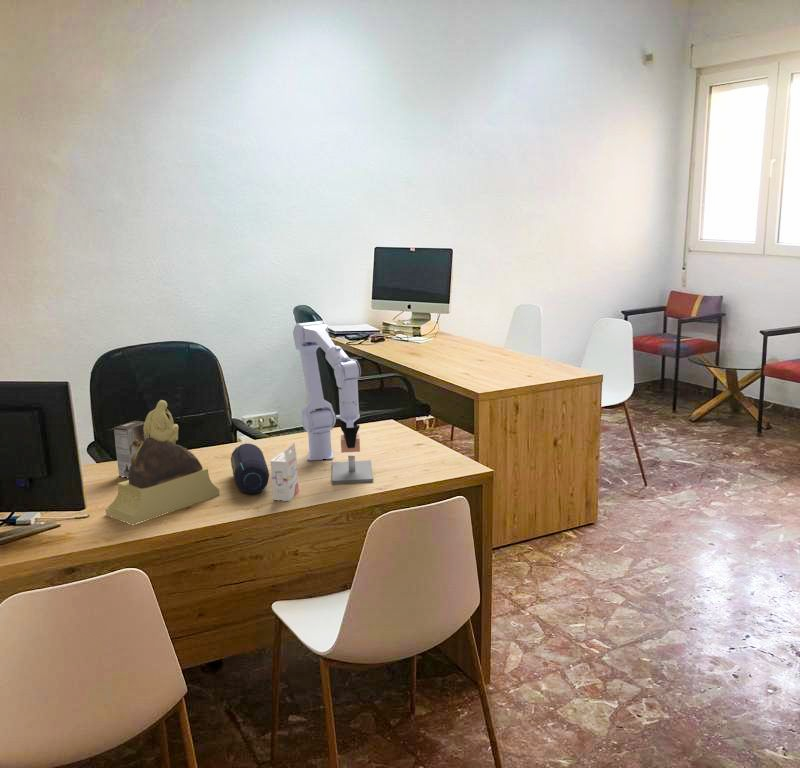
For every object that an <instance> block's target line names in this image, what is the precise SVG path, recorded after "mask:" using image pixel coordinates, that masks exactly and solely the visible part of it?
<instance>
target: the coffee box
mask: <svg viewBox="0 0 800 768" xmlns="http://www.w3.org/2000/svg"><path fill="white" fill-rule="evenodd" d="M144 423H145V421H142V420H141V421H140V420H133V421H130V422H127V423H124V424H120V425H118V426H114V427H112V428H113V436H114V443H115V452H116V453H115V454H116V460H117V461H116V462H117V467H118V468H117V470H118V476H124V477H128V478H129V475H128V474H129V468H130V466H131V464H132V462H133V461H134V460H135V459H136V453H137V450H138V449H139V447H140V445H141V444H142V443H143V442H144V441H145V440H146V435H145V432H144ZM148 435H149V437H150V434H149V433H148ZM128 478H127V479H128Z"/></svg>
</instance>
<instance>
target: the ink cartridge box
mask: <svg viewBox="0 0 800 768" xmlns="http://www.w3.org/2000/svg"><path fill="white" fill-rule="evenodd" d="M269 462H270V471H271V472H270V473H271V485H272V497H273V501H274V500H278V501H277V502H280V501H279V500H282V501H281V502H291V500H292V499H293V498H294V497H295V496H294V495H297V494H298V493H299V492H300V491H299V490H300V489H299V475H298V460H297V451H296V445H295V442H293V443H292V444H291V445H289V446H288V447H287V448H286V449H285V450H284V452H282V451H281V452H279V453H278V454H277V455H275V457H273V458H272V459H271V460H270V461H269Z"/></svg>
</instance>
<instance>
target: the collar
mask: <svg viewBox="0 0 800 768" xmlns="http://www.w3.org/2000/svg"><path fill="white" fill-rule="evenodd" d="M360 440H361V439H360V433H357V436H356V443H355V448H348V447H347V444H346V440H345V436H344V434H340V450H341V453H357V452H358V453H359V452H361V441H360Z"/></svg>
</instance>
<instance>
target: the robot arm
mask: <svg viewBox="0 0 800 768" xmlns="http://www.w3.org/2000/svg"><path fill="white" fill-rule="evenodd" d="M292 335H293V342H294V345H295V346H294V347H295V349H296V350H298V351H299V353H300V358H301V365H302V371H303V378H304V383H305V388H306V394H307V400H308V401H307V402H306V404H304V405H303V406H302V408H301V424H302V427H303V430H305V431H306V432H307V433H308V435H307V436H308V456H307V461H322V460H323V459H326V460H333V459H334V449H332V436H331V434H332V433H331V431H333V427H335V424H336V421H337V420H340V423H341V424H340V430H341V431H342V433H343V435H344V436H345V440H346V444H347V447H348V448H355V443H356V436H357V434H358V431H359V429H360V426H361V425H360V424H358V423H359V422H360V419H361V418H360V417H361V415H360V408H359V406H360V405H359V402H360V401H359V388H358V387H359V385H358V383H359V382H358V380H359V379H360V378H361V375H362V369H361V365H360V362H359V361H358V360H357V359H353V358H350V356H348V354H347V353H346V352H345V351H344V349H343V348H342V347H341V346H339V345H335V343H334V341H333V340H332V338H331V336H330V335H329V326H328V325H327V323H326V321H325V320H317V321H310V322H308V321H307V322H297V323H295V325H294V327H293V330H292ZM319 348H320V349H322V351H323V352H324V353H325V354H324V355H325V356H324V357H325V360H326V361H327V362H328V363H329V365H330V366H331V368H332V369H333V372H334V373H333V374H334V378H335V381H336V387H338V399H339V401H338V403H339V405H338V406H339V414H336V413H335V411H334V408H333V405H332V403H330V402H329V401H328V400H326V399H324V398H325V397H324V392H323V388H322V387H323V386H322V382H321V381H322V380H321V374H320V370H319V369H320V368H319V362H318V356H317V351H318V349H319ZM323 461H324V460H323Z"/></svg>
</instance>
